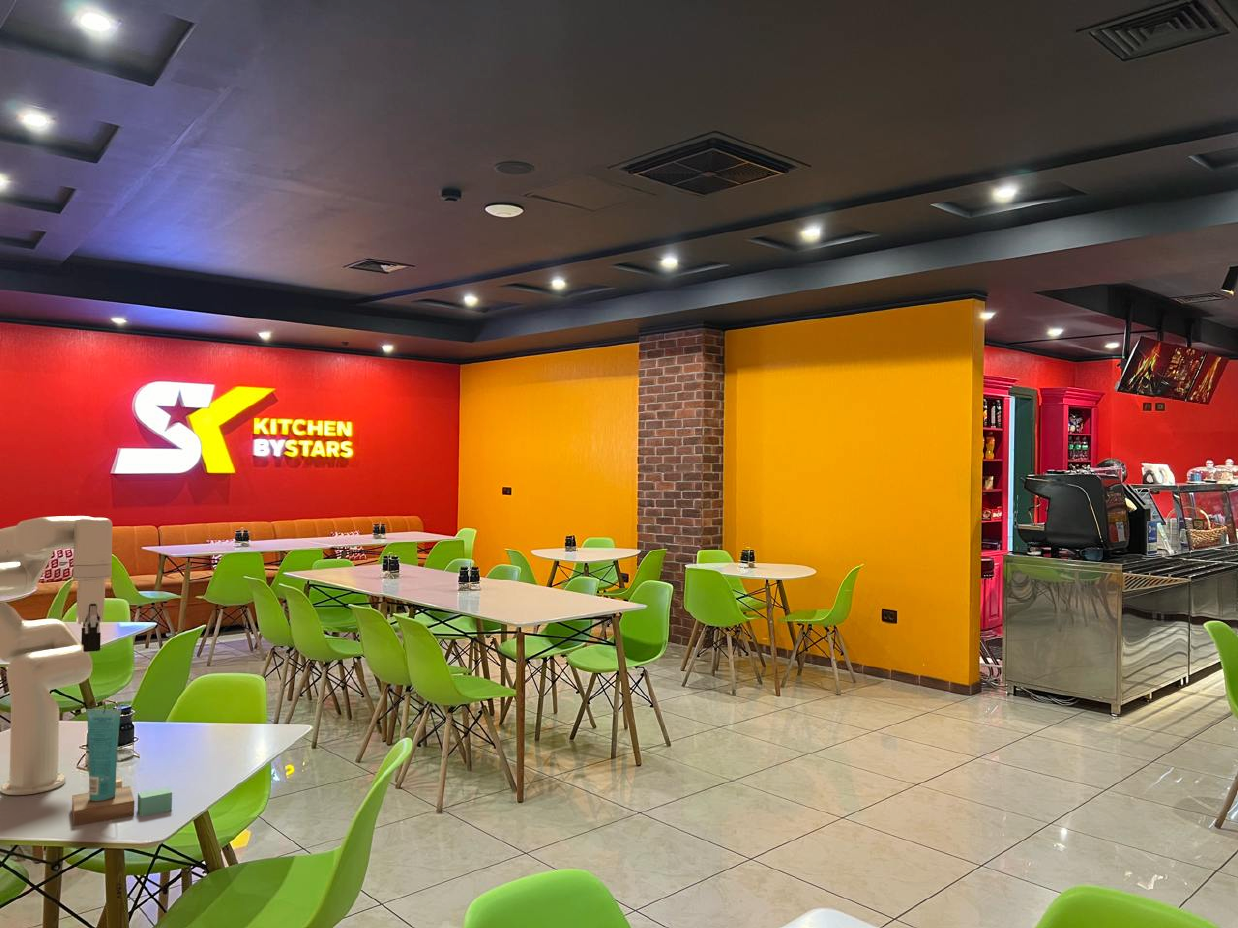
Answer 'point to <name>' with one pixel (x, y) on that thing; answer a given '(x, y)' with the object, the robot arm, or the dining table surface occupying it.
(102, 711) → the tube
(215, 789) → the dining table surface
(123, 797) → the plinth
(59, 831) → the dining table surface
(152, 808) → the teal block
